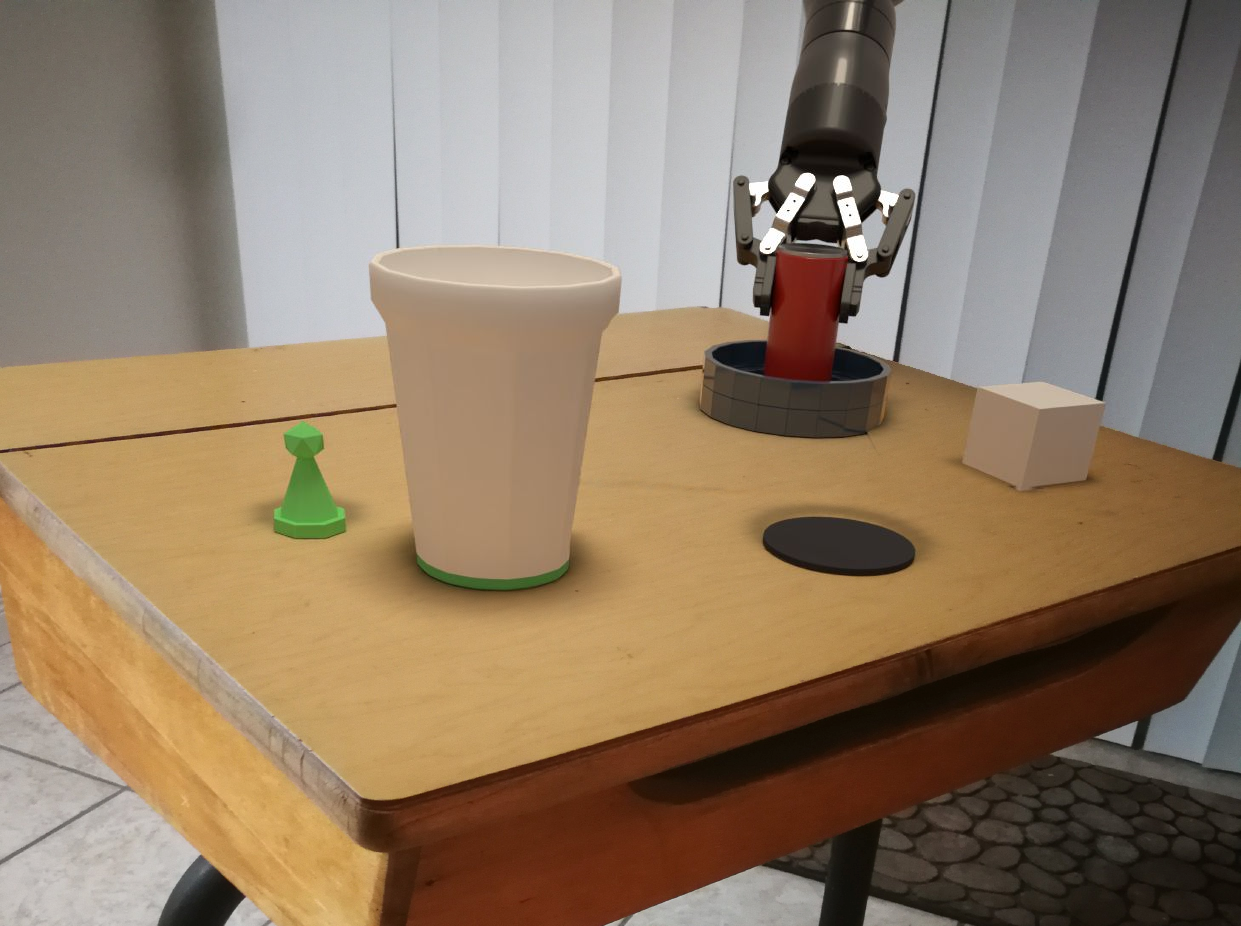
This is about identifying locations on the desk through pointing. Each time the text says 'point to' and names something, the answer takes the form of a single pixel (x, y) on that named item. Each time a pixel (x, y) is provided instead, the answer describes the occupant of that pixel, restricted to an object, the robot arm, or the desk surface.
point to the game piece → (307, 491)
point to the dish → (793, 393)
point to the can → (805, 311)
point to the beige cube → (1032, 434)
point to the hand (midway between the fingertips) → (804, 312)
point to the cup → (493, 400)
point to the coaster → (838, 545)
